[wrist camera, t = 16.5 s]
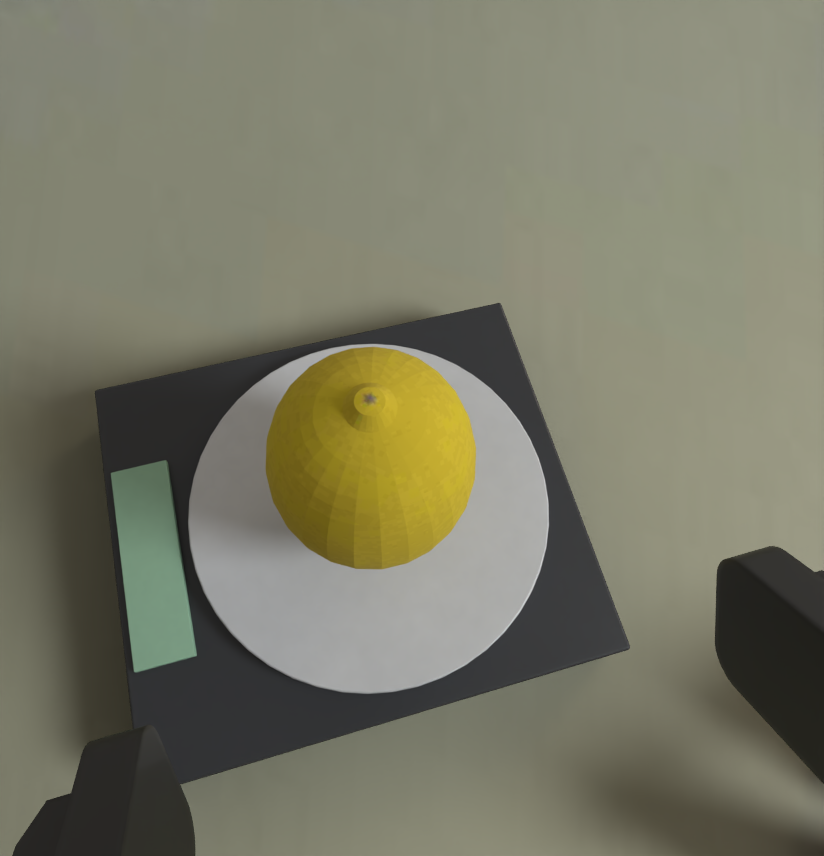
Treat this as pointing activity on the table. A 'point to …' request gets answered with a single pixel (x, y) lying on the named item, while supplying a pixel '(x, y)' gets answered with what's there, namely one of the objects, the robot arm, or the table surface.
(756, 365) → the table surface
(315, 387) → the lemon
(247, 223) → the table surface
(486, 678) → the scale
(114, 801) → the robot arm
